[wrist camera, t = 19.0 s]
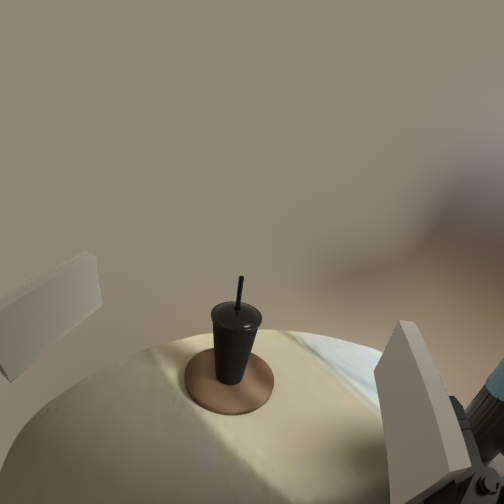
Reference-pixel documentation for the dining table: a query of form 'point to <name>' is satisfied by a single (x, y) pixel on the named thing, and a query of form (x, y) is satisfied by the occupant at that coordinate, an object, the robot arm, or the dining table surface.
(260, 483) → the dining table surface
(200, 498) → the dining table surface
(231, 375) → the drinking cup
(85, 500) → the dining table surface
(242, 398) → the coaster board
